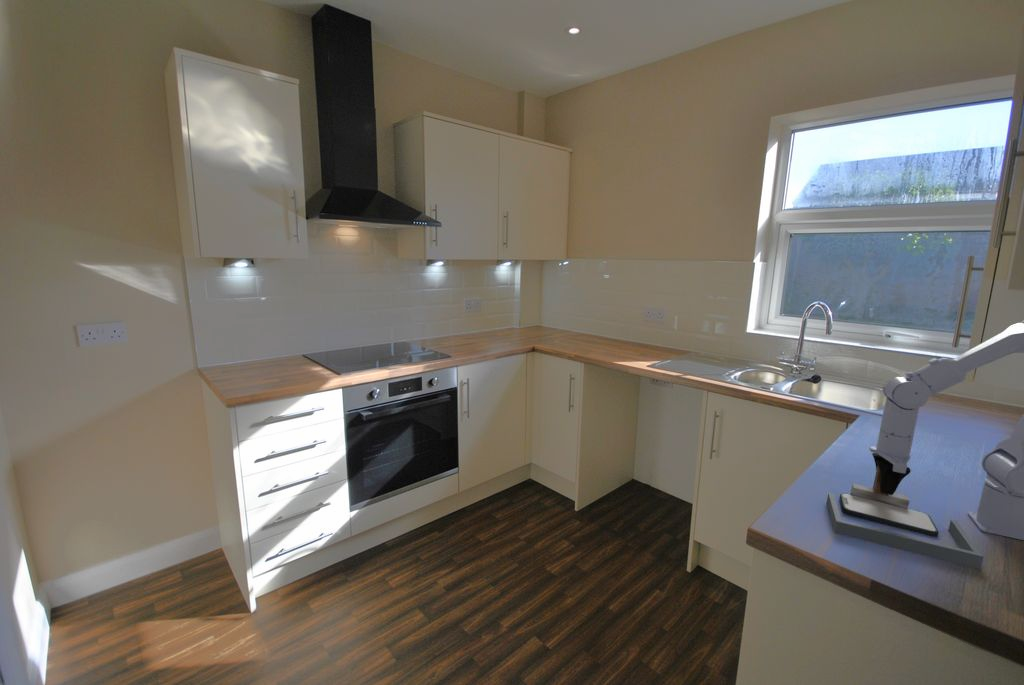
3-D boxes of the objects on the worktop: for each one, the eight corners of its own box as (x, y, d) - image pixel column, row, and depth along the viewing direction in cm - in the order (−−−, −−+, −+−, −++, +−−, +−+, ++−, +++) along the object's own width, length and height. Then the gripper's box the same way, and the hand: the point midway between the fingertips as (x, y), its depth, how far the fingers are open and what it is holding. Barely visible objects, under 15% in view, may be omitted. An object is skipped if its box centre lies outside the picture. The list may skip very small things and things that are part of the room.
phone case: (927, 520, 101) (838, 497, 109) (929, 513, 101) (839, 491, 108) (938, 541, 93) (842, 515, 101) (940, 534, 93) (843, 508, 101)
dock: (954, 532, 96) (957, 521, 95) (980, 568, 84) (983, 556, 84) (826, 503, 105) (828, 492, 105) (834, 532, 94) (836, 521, 94)
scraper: (904, 507, 104) (913, 471, 102) (906, 513, 102) (915, 476, 100) (850, 494, 109) (857, 459, 107) (851, 499, 107) (858, 464, 105)
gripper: (867, 418, 110) (857, 472, 112) (880, 439, 97) (869, 499, 100) (905, 424, 107) (894, 479, 109) (924, 447, 94) (911, 508, 97)
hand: (884, 490), depth 104 cm, fingers closed on scraper, 3 cm apart
